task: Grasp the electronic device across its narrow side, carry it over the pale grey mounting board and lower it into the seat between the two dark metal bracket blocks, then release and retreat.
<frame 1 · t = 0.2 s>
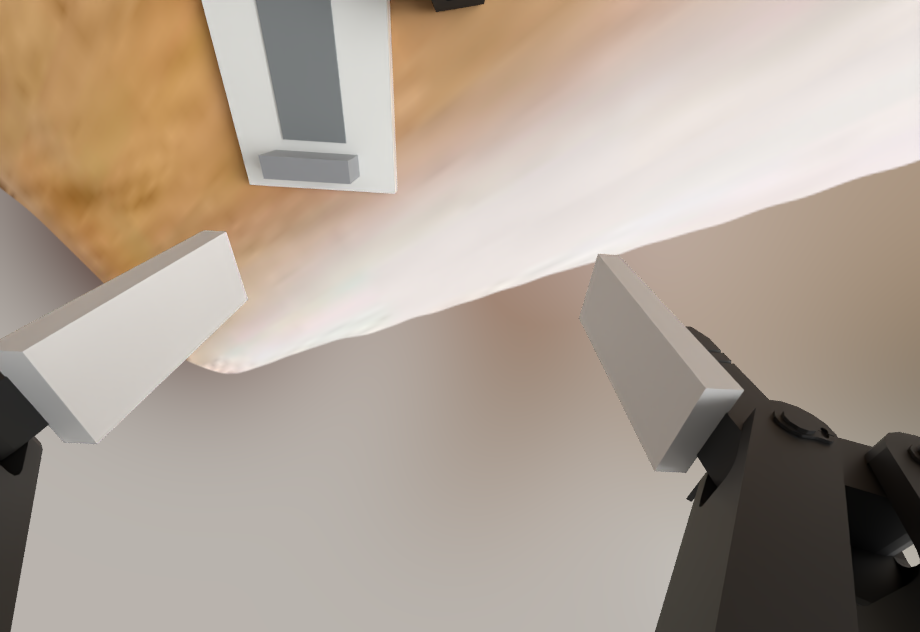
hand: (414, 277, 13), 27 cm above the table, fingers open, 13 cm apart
mounting board: (311, 72, 32), on the table
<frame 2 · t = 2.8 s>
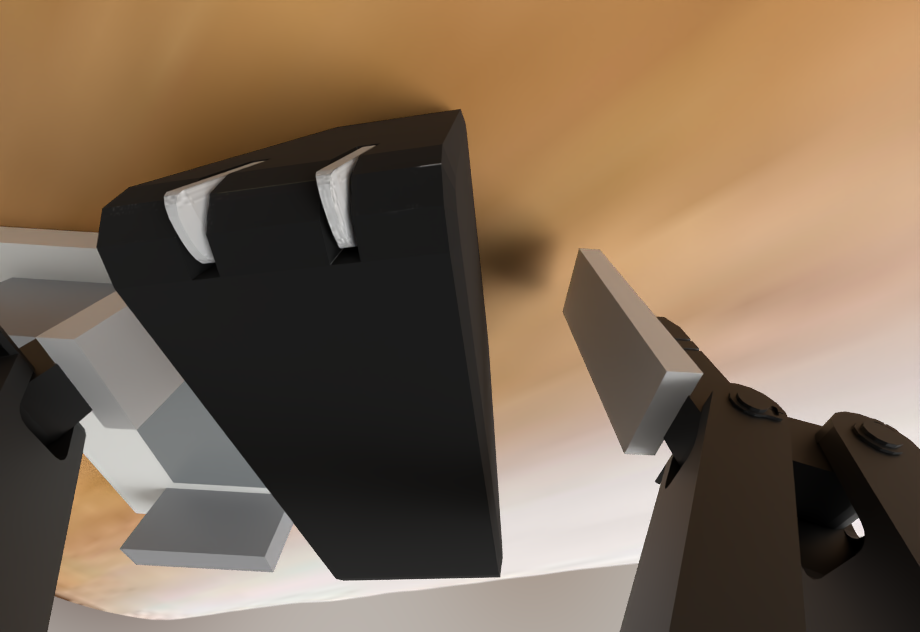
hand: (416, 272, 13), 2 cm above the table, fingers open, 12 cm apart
electronic device: (429, 251, 15), on the table
mounting board: (209, 402, 20), on the table
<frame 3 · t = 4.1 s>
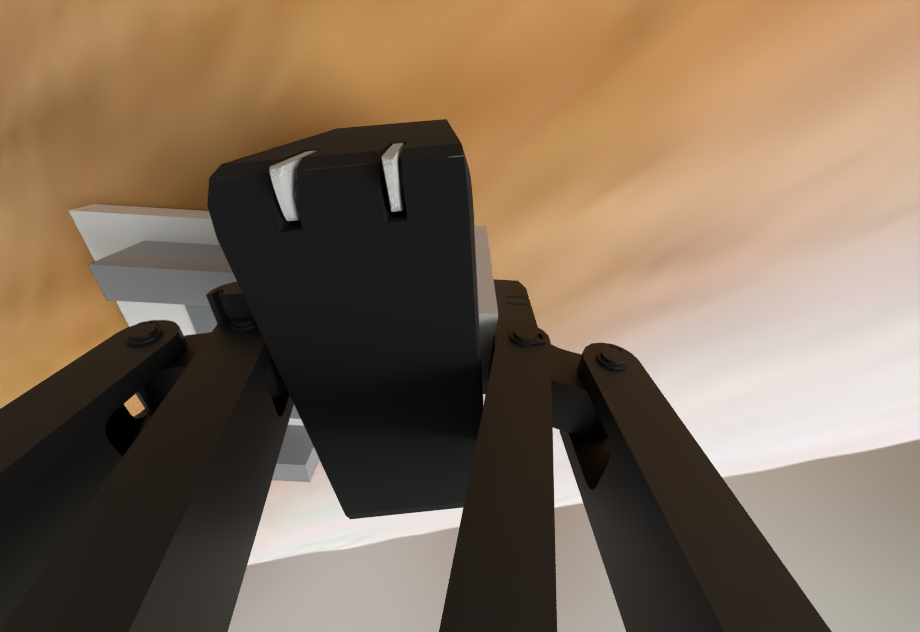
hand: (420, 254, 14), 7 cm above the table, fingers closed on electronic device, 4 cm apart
electronic device: (413, 243, 16), point 5 cm above the table, touching gripper
mounting board: (262, 347, 26), on the table
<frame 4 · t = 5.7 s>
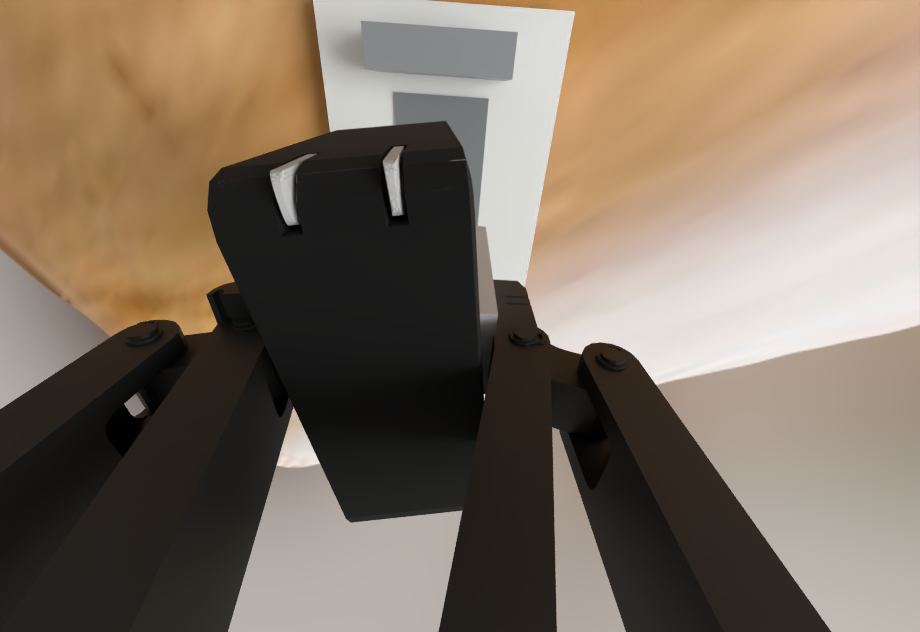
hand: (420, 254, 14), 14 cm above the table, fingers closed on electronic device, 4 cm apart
electronic device: (412, 245, 16), point 12 cm above the table, touching gripper
mounting board: (440, 180, 26), on the table
when the fingers open (3 cm above the table, at t = 7.8 s): electronic device stays where it is, resting on mounting board.
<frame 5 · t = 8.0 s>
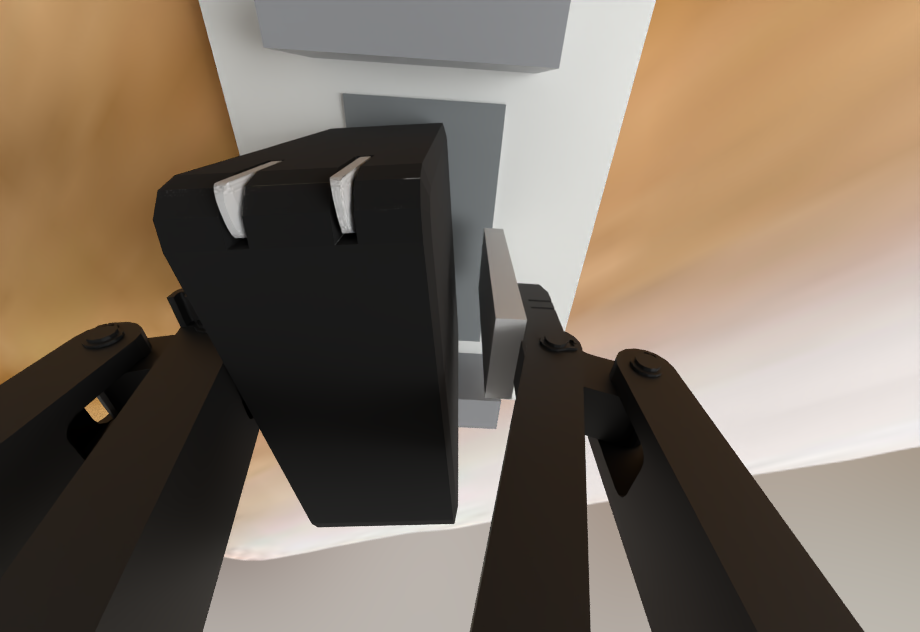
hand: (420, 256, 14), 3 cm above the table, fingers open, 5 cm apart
electronic device: (408, 246, 16), point 2 cm above the table, touching gripper, mounting board
mounting board: (427, 229, 17), on the table
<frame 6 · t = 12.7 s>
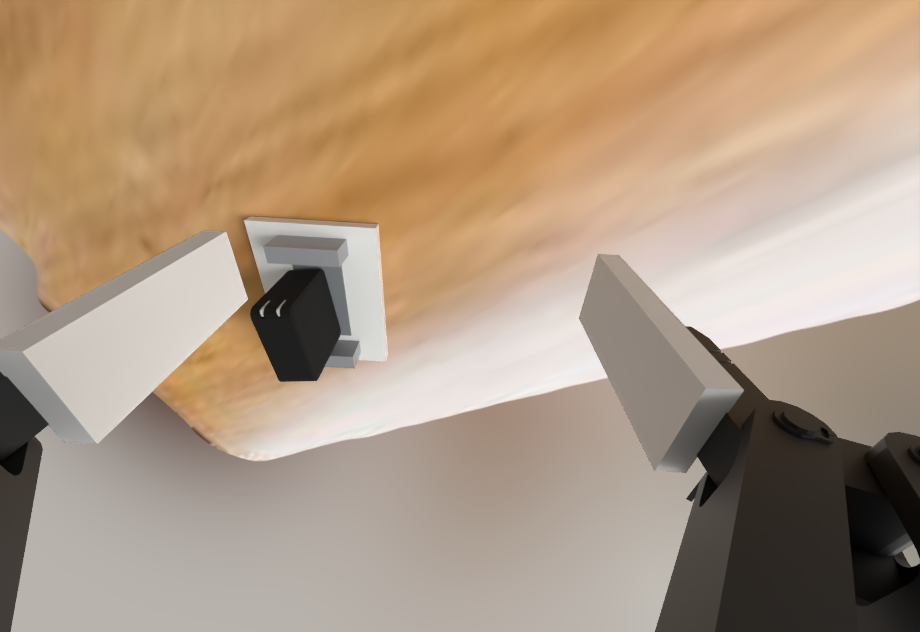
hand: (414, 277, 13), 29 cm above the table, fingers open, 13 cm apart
electronic device: (318, 301, 45), point 1 cm above the table, touching mounting board
mounting board: (327, 293, 46), on the table
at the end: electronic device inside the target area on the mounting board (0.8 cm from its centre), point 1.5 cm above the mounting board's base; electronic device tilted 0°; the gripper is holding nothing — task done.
